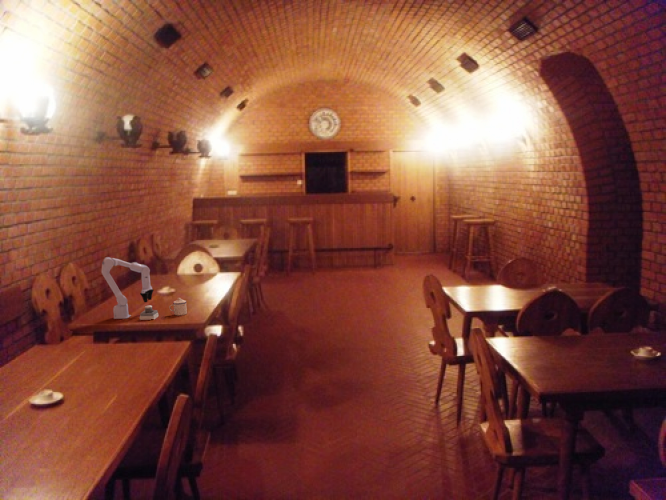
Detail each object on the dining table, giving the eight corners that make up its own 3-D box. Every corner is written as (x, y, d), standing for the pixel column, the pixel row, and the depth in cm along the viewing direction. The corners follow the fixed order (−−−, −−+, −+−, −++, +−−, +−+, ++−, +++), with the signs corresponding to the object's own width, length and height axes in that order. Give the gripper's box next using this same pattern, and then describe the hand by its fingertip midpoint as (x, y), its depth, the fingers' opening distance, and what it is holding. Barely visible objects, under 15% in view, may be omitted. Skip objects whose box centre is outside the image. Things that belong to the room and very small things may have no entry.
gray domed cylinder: (144, 315, 411) (143, 307, 410) (147, 313, 416) (146, 305, 415) (151, 315, 410) (150, 307, 409) (153, 313, 415) (153, 305, 414)
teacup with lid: (187, 312, 426) (186, 296, 424) (186, 315, 417) (185, 299, 415) (170, 313, 424) (169, 297, 423) (169, 316, 415) (167, 300, 414)
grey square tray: (139, 319, 409) (139, 313, 408) (144, 316, 418) (144, 310, 417) (153, 319, 408) (153, 313, 408) (158, 316, 417) (158, 309, 417)
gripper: (147, 284, 414) (149, 303, 416) (155, 280, 429) (156, 298, 431) (137, 284, 415) (139, 303, 417) (145, 280, 429) (147, 298, 431)
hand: (147, 301), depth 424 cm, fingers open, 7 cm apart
